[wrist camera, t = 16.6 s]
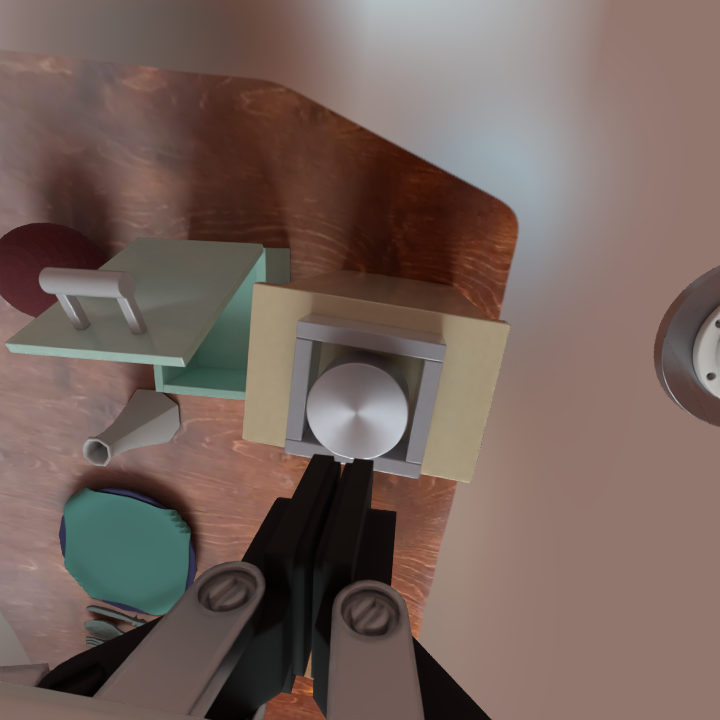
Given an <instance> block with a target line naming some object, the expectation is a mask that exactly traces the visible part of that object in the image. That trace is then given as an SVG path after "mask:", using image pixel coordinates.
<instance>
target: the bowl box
mask: <svg viewBox="0 0 720 720" xmlns="http://www.w3.org/2000/svg"><path fill="white" fill-rule="evenodd" d="M263 250H264V252H263V254H262V255H261V257H260V258H259V260H258V261H257V263H256V264H255V266H254V267H253V269H252V270H251V271H250V273H249V274H248V276H247V277H246V279H245V280H244V282H243V283H242V285H241V286H240V288H239V289H238V291H237V292H236V293H235V295H234V296H233V298H232V299H231V301H230V302H229V304H228V305H227V307H226V308H225V310H224V311H223V313H222V314H221V315H220V317H219V318H218V320H217V321H216V323H215V324H214V326H213V327H212V329H211V330H210V332H209V333H208V335H207V336H206V338H205V339H204V340H203V342H202V343H201V345H200V346H199V348H198V349H197V351H196V352H195V354H194V355H193V357H192V358H191V360H190V361H189V362H188V364H187V365H186V367H177V366H165V365H154V376H155V387H156V392H165V393H175V394H186V395H196V396H207V397H218V398H229V399H240V400H245V392H246V378H247V365H248V351H249V337H250V323H251V309H252V295H253V284H254V283H256V282H268V283H274V284H280V285H281V284H285V283H289V282H290V248H274V247H263Z"/></svg>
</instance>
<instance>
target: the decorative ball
mask: <svg viewBox="0 0 720 720" xmlns="http://www.w3.org/2000/svg"><path fill="white" fill-rule="evenodd" d="M105 263H106V260H105V258H104V257H103V255H102V253H101V252H100V250H99V249H98V248H97V246H95V245H94V244H93V243H92V242H91V241H90V240H89V239H88V238H87V237H85V236H84V235H82V234H81V233H79V232H77V231H75V230H72V229H70V228H68V227H65V226H61V225H56V224H51V223H31V224H28V225H24V226H21V227H17V228H15V229H13V230H11V231H10V232H8V233H7V234H5V235H4V236H3V237H2V238H1V239H0V294H1V296H2V297H3V298H4V299H5V300H6V301H7V302H8V303H10V304H11V305H12V306H13V307H15V308H16V309H18V310H19V311H21V312H23V313H26V314H28V315H30V316H33V317H36V318H37V317H38V316H39V315H41V314H42V313H43V312H44V311H46V310H47V309H48V308H49V307H51V306H52V305H53V304H55V303H56V302H57V301H58V298H57V296H56V295H55V294H49V293H47V292H45V291H44V290H43V289H42V288H41V286H40V284H39V275H40V272H41V271H42V270H43V269H44V268H46V267H58V268H75V269H92V270H98V269H99V268H100V267H101V266H103V265H104V264H105Z"/></svg>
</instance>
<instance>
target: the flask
mask: <svg viewBox="0 0 720 720" xmlns="http://www.w3.org/2000/svg"><path fill="white" fill-rule="evenodd" d="M179 427H180V422H179V411H178V405H177V404H176V403H175V402H173V401H172V400H171V399H169V398H168V397H167V396H166V395H164V394H163V393H162V392H156V390H143V389H137V390H136V392H135V393H134V395H133V396H132V398H131V399H130V401H129V402H128V404H127V405H126V407H125V408H124V409H123V411H122V412H121V413H120V415H119V416H118V417H117V419H116V420H115V421H114V423H113V424H112V425H111V426H110V427H108V428H107V429H106V430H105V431H104V432H103V433H101V434H100V435H98V436H96V437H89V438H87V440H86V441H85V443H84V445H83V446H82V448H83V454H84V458H85V459H87V460H88V461H89V462H91V463H92V464H93V465H99V466H106V465H107V464H108V463H109V462H110V460H111V459H112V458H113V457H114V456H116V455H117V454H119V453H122V452H124V451H127V450H129V449H133V448H138V447H143V446H148V445H154V444H161V443H166V442H169V441H170V440H171V438H172V437H173V435H174V434H175V433H176V431H177V430H178V428H179Z"/></svg>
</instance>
